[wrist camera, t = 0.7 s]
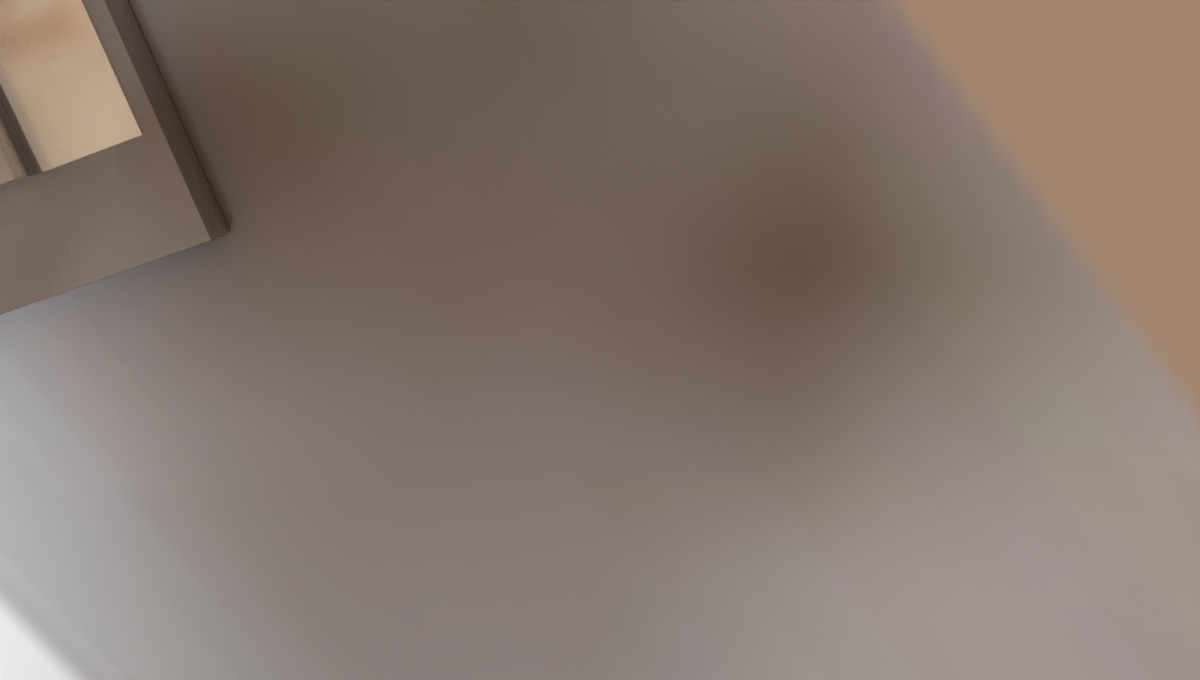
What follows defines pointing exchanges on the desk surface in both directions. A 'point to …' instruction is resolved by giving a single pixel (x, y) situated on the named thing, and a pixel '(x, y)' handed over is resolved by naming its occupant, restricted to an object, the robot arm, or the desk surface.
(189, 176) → the gauge base
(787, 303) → the desk surface
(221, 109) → the desk surface
